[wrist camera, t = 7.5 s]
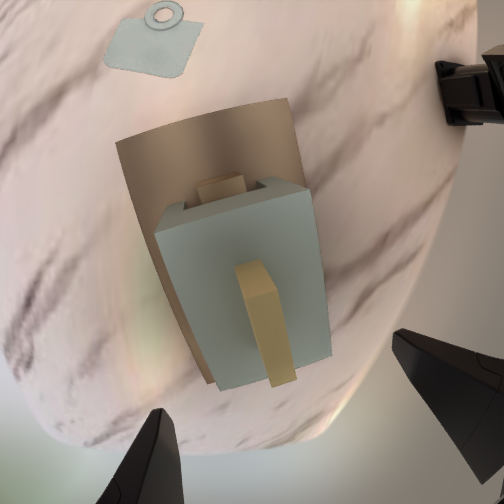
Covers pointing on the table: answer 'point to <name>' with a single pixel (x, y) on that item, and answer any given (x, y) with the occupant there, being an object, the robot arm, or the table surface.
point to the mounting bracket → (154, 43)
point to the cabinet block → (250, 281)
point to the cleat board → (206, 172)
